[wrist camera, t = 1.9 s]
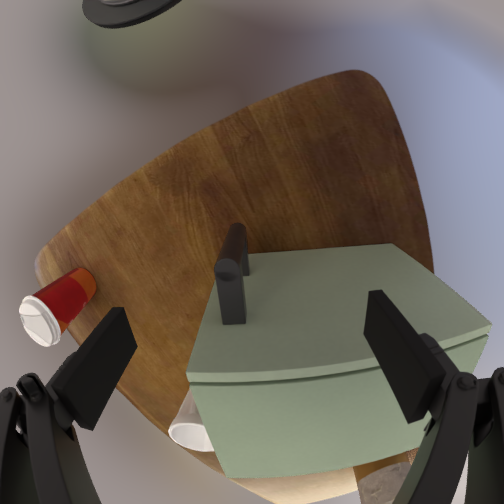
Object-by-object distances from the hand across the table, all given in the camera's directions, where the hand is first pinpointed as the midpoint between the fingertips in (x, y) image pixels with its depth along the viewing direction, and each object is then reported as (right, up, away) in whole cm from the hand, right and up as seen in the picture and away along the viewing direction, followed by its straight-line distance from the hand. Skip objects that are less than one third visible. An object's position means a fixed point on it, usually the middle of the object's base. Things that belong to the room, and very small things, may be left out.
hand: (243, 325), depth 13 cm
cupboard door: (+9, +7, +24) cm, 27 cm away
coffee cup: (-30, -2, +28) cm, 41 cm away
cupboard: (+10, -5, +29) cm, 31 cm away
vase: (+43, -65, +49) cm, 92 cm away
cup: (-8, -23, +35) cm, 43 cm away
